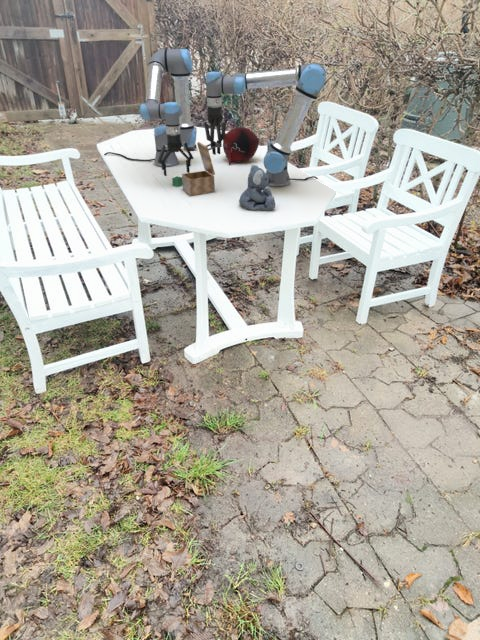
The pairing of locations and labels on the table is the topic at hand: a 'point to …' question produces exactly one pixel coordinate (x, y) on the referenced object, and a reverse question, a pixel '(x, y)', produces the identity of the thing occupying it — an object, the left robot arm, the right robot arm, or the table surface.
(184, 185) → the chest
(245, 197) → the koala plush
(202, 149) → the lid
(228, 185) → the table surface
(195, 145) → the rock
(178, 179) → the block
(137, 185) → the table surface
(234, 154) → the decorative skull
